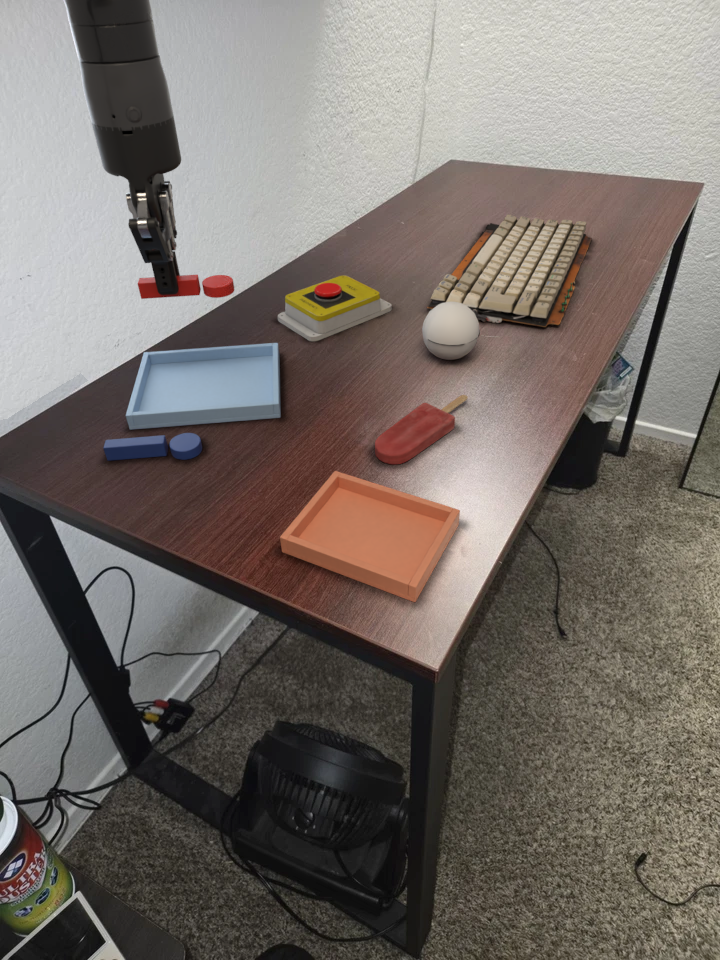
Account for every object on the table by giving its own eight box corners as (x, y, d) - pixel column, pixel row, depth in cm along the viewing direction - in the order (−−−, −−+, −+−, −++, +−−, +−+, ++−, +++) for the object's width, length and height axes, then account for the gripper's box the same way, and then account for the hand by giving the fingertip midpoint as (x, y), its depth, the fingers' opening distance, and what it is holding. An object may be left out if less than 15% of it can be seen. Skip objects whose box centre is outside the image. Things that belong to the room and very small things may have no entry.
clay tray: (281, 552, 61) (279, 537, 59) (335, 485, 68) (334, 470, 66) (415, 602, 56) (416, 587, 55) (458, 525, 63) (460, 509, 61)
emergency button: (271, 290, 93) (354, 262, 100) (275, 319, 96) (355, 289, 103) (310, 313, 87) (394, 281, 94) (312, 342, 90) (394, 309, 97)
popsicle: (482, 396, 76) (397, 459, 68) (480, 408, 77) (397, 472, 69) (450, 382, 78) (365, 442, 70) (450, 394, 79) (365, 454, 72)
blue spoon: (105, 466, 71) (101, 453, 70) (111, 447, 73) (107, 434, 72) (201, 458, 71) (198, 445, 70) (203, 439, 74) (200, 426, 73)
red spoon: (139, 302, 72) (135, 287, 71) (144, 289, 74) (140, 274, 73) (233, 296, 72) (231, 281, 71) (235, 283, 75) (232, 268, 74)
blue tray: (129, 429, 76) (125, 415, 74) (147, 365, 87) (143, 352, 85) (280, 417, 77) (278, 403, 76) (279, 355, 88) (277, 342, 86)
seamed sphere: (410, 362, 86) (412, 310, 81) (436, 337, 90) (438, 287, 86) (482, 382, 82) (488, 328, 77) (504, 355, 86) (511, 303, 82)
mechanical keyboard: (487, 225, 122) (489, 206, 120) (593, 238, 116) (597, 219, 114) (424, 315, 96) (425, 293, 94) (557, 337, 90) (561, 314, 88)
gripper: (105, 100, 67) (144, 267, 78) (74, 133, 56) (125, 319, 67) (180, 97, 67) (208, 263, 78) (163, 129, 57) (199, 315, 68)
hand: (170, 288), depth 73 cm, fingers closed on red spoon, 1 cm apart
